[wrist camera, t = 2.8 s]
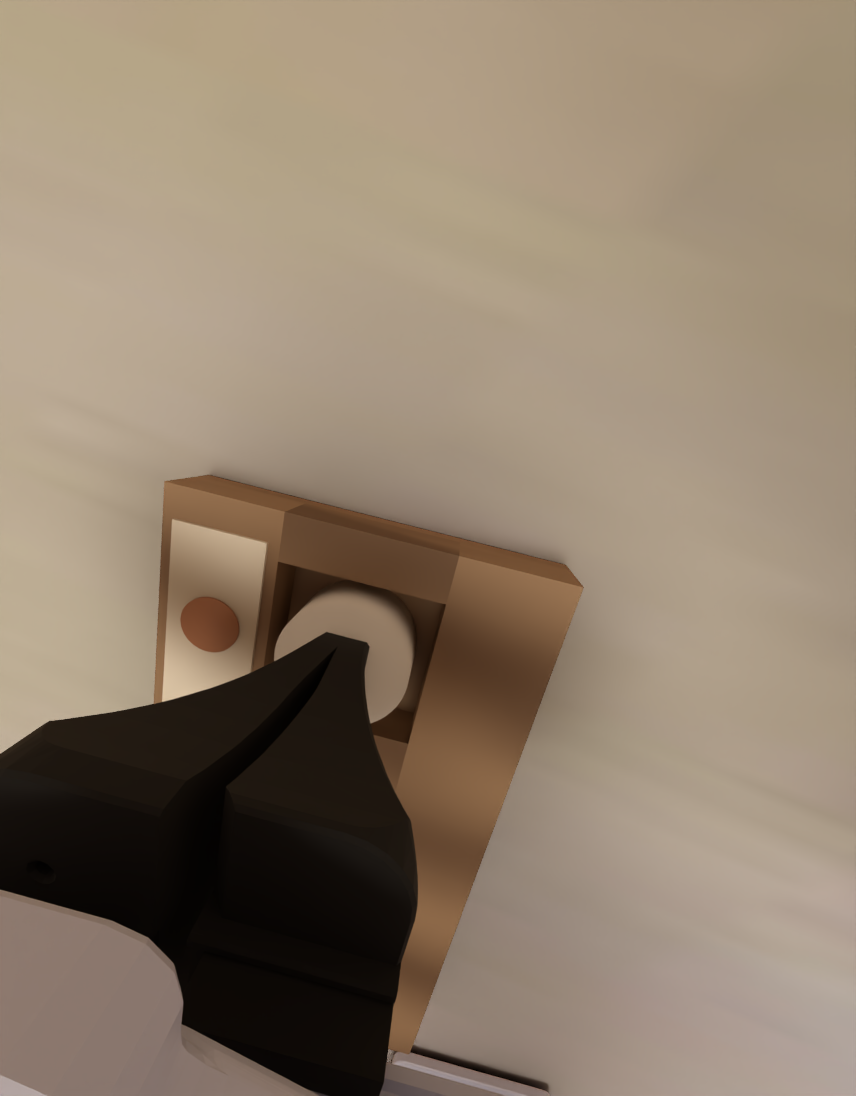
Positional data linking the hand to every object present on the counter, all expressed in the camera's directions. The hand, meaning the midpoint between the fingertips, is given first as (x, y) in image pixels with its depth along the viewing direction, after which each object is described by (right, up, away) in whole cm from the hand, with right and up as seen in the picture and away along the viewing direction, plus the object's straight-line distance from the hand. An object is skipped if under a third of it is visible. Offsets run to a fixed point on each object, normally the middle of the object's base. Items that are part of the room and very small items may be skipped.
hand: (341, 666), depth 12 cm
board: (-1, -6, +4) cm, 7 cm away
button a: (0, +1, +2) cm, 2 cm away
